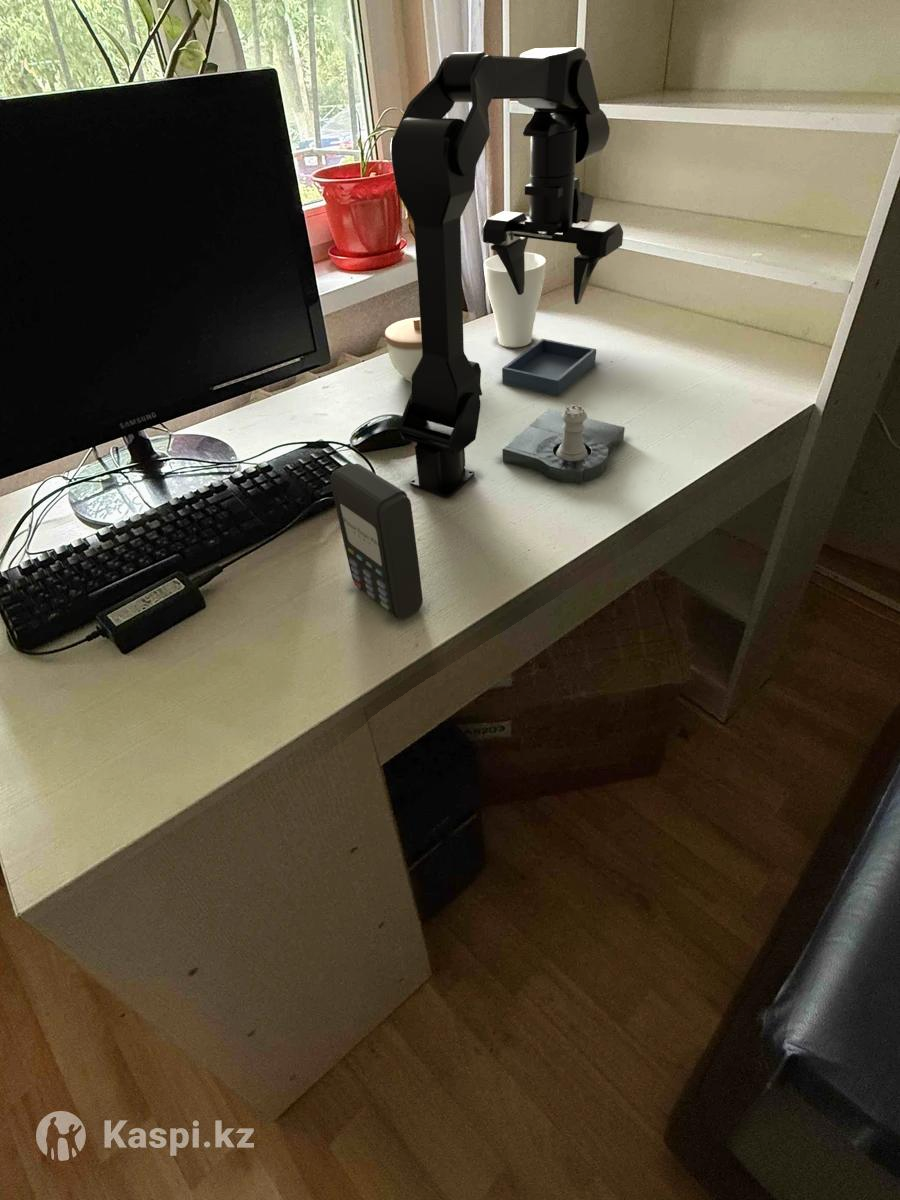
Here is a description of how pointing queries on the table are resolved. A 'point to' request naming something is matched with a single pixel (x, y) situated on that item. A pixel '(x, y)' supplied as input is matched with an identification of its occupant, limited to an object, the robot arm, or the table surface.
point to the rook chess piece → (573, 435)
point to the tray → (549, 366)
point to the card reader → (378, 538)
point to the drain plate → (544, 440)
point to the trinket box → (405, 345)
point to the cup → (514, 299)
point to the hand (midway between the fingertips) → (548, 298)
